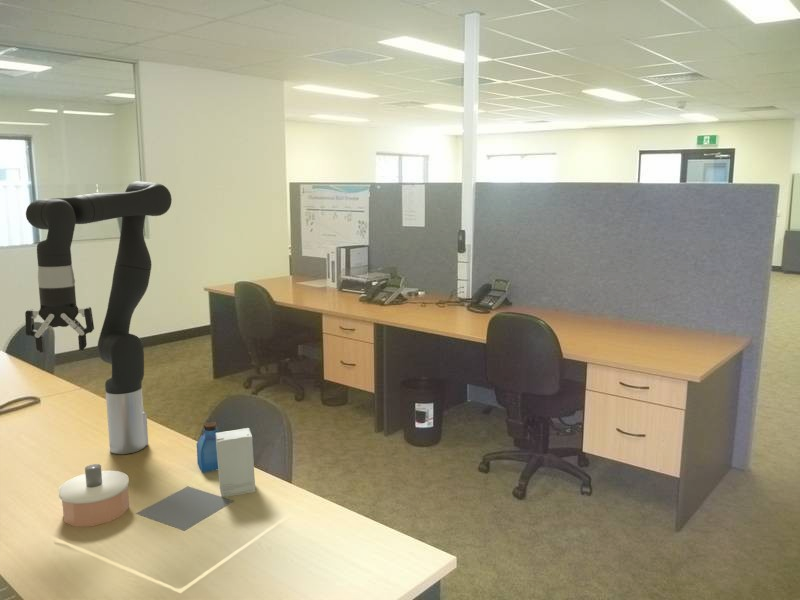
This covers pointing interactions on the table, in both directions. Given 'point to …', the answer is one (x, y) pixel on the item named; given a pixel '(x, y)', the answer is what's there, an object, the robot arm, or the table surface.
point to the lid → (93, 486)
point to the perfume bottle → (207, 448)
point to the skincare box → (235, 462)
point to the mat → (185, 508)
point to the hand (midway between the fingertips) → (62, 351)
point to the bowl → (96, 510)
